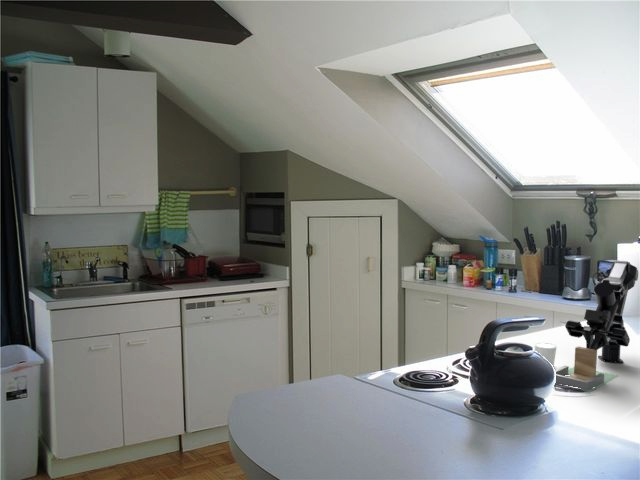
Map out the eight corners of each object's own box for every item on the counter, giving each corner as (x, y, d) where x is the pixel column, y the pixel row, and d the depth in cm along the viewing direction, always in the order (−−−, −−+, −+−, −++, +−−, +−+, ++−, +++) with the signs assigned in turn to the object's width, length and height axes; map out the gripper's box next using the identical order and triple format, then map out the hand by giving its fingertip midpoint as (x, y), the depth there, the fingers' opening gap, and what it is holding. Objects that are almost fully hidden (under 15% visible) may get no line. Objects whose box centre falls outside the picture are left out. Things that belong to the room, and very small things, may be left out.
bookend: (576, 374, 217) (578, 346, 216) (595, 378, 213) (597, 350, 212) (560, 382, 209) (562, 353, 208) (580, 386, 205) (581, 357, 204)
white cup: (552, 363, 230) (553, 342, 229) (557, 369, 223) (558, 348, 222) (531, 362, 230) (532, 342, 230) (536, 368, 224) (537, 347, 223)
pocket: (564, 373, 218) (564, 365, 218) (603, 382, 209) (604, 374, 209) (547, 381, 210) (547, 373, 209) (587, 391, 201) (587, 382, 201)
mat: (575, 367, 226) (575, 366, 226) (619, 376, 216) (619, 375, 216) (544, 382, 210) (544, 381, 210) (589, 393, 200) (589, 392, 200)
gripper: (569, 295, 223) (551, 334, 216) (628, 304, 210) (611, 346, 203) (578, 315, 229) (561, 354, 223) (636, 325, 216) (620, 366, 210)
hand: (587, 355), depth 214 cm, fingers closed
